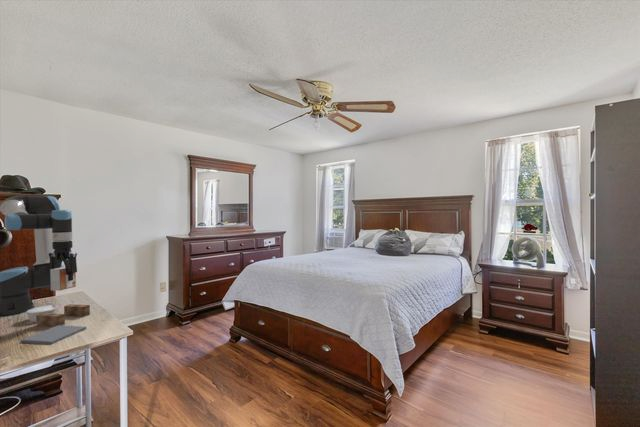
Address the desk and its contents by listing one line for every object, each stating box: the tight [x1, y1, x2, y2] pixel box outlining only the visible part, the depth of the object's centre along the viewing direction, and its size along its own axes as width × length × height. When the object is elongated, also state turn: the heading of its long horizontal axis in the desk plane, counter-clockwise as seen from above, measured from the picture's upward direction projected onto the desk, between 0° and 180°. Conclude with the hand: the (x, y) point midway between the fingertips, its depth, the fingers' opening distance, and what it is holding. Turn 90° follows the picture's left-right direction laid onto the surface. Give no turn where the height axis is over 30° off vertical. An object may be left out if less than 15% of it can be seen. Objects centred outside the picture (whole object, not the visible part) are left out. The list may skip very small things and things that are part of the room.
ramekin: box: [25, 304, 58, 323], centre depth 147 cm, size 11×11×5 cm
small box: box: [50, 266, 77, 292], centre depth 145 cm, size 8×6×10 cm
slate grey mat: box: [20, 325, 87, 345], centre depth 127 cm, size 15×15×1 cm
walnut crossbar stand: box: [36, 303, 91, 328], centre depth 145 cm, size 12×16×5 cm
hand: (63, 286), depth 145 cm, fingers closed on small box, 6 cm apart
